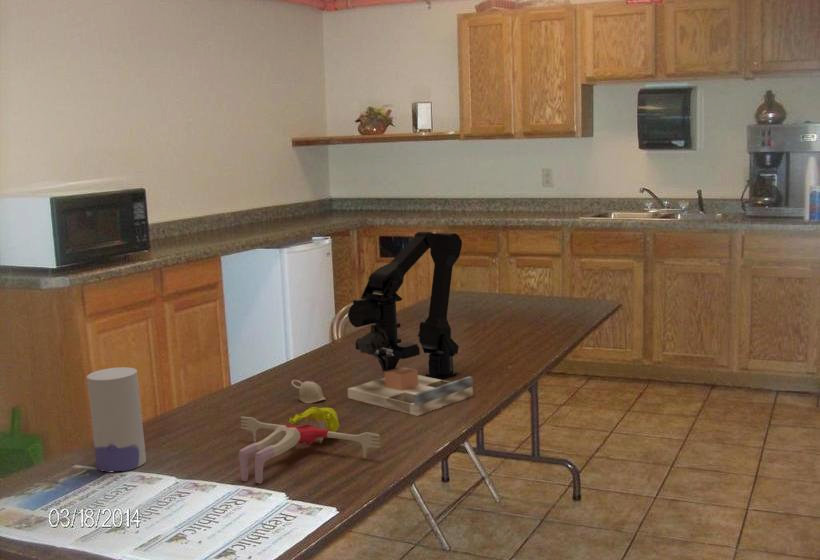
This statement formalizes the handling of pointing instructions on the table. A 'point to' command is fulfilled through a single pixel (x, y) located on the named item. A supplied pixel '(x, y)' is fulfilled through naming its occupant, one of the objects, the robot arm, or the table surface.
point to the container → (116, 419)
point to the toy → (295, 437)
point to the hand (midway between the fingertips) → (388, 379)
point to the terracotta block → (401, 378)
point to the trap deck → (413, 394)
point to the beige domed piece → (309, 391)
